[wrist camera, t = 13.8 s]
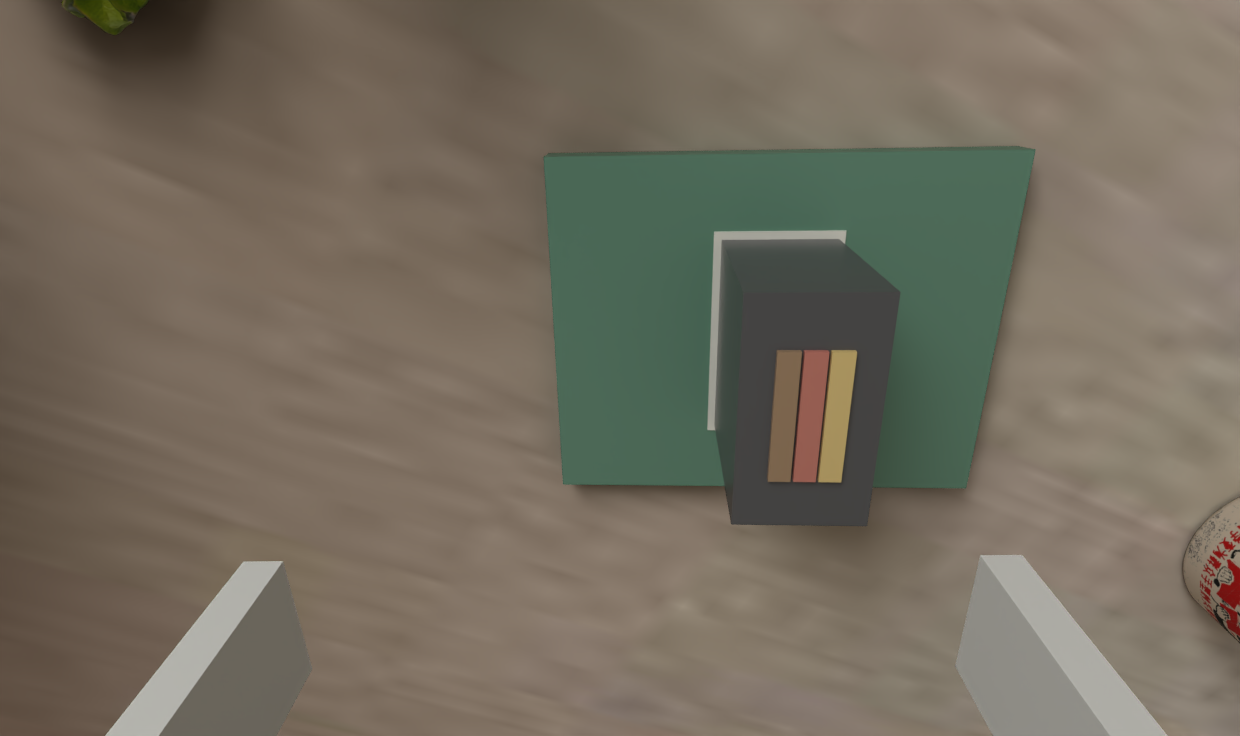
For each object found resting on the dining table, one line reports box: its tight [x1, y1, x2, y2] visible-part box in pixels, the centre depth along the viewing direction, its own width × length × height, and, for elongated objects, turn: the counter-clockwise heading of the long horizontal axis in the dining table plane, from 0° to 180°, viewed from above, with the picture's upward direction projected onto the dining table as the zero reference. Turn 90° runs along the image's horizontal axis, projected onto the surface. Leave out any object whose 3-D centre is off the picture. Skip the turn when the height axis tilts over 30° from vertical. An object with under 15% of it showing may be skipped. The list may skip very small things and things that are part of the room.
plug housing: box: [714, 239, 901, 526], centre depth 27 cm, size 5×9×8 cm, turn 1°
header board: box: [544, 146, 1036, 488], centre depth 31 cm, size 20×16×4 cm
